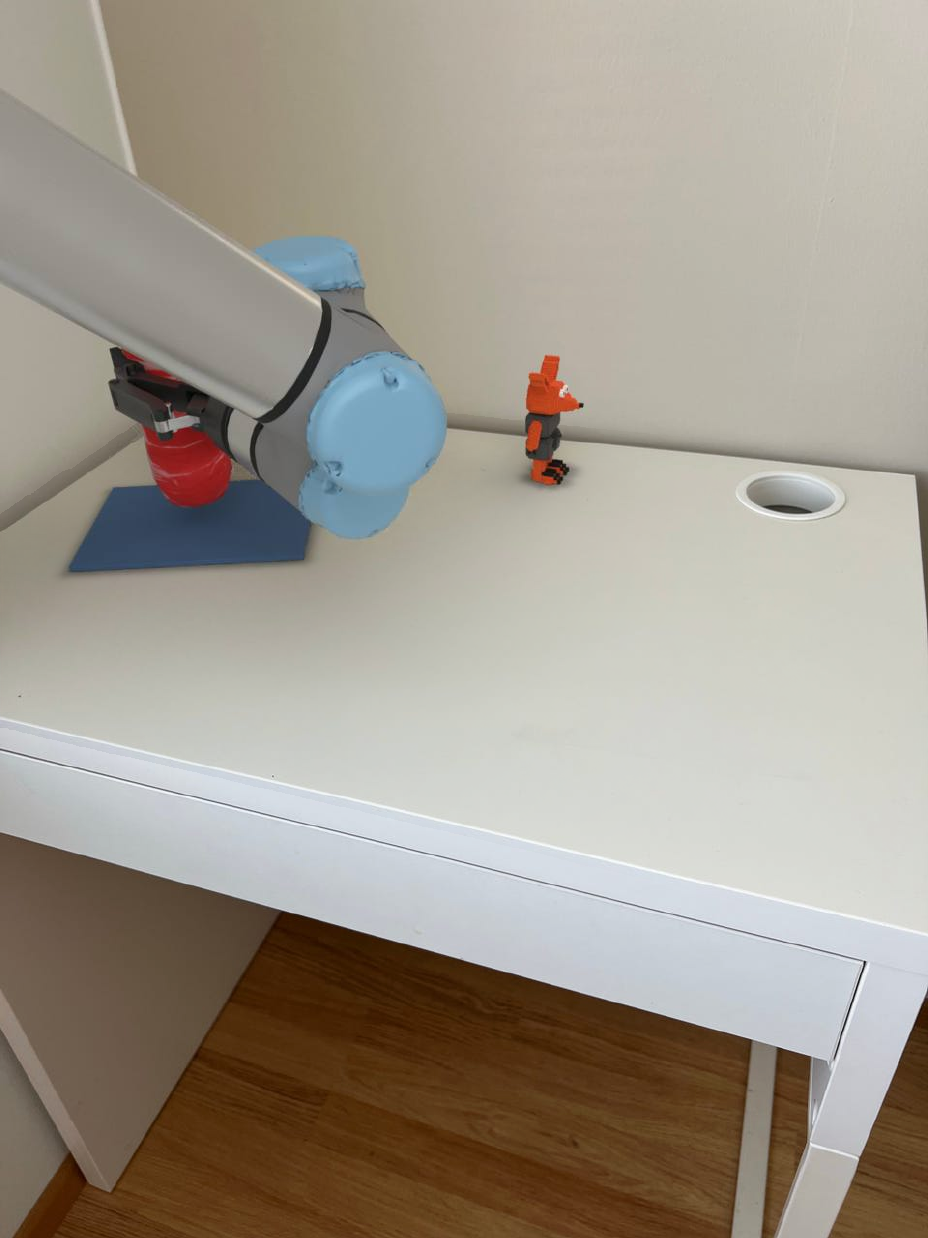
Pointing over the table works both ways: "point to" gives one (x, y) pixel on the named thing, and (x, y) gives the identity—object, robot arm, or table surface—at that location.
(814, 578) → the table surface
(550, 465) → the toy animal
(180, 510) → the blue mat
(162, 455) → the water bottle
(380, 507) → the robot arm
